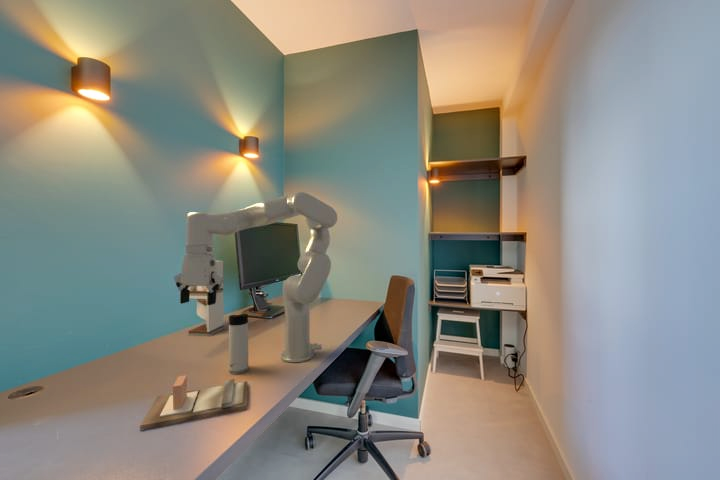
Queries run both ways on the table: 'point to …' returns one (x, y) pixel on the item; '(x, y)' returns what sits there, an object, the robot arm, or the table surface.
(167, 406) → the stub
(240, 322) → the travel mug
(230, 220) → the robot arm
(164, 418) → the ticket board
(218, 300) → the display case
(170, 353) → the table surface
